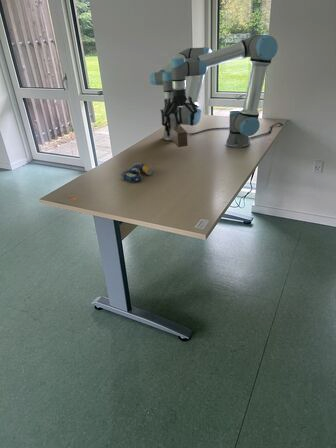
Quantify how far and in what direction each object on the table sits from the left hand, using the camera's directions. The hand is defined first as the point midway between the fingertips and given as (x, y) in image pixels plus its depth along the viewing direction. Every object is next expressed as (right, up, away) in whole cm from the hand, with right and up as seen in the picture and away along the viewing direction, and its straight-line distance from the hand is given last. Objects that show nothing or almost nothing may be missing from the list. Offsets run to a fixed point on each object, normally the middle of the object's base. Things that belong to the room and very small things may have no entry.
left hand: (172, 134), depth 220 cm
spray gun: (-20, -31, -28) cm, 46 cm away
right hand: (+4, -1, -22) cm, 22 cm away
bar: (+2, -5, -8) cm, 10 cm away
